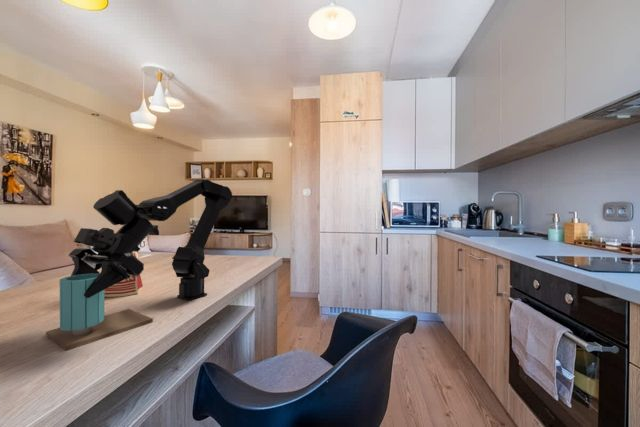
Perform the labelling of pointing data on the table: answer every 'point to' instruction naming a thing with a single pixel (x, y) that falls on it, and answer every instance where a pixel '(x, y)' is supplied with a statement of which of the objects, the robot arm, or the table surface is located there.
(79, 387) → the table surface
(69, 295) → the teal collar
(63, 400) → the table surface
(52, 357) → the table surface
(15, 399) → the table surface
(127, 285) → the milk carton
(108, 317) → the peg board
